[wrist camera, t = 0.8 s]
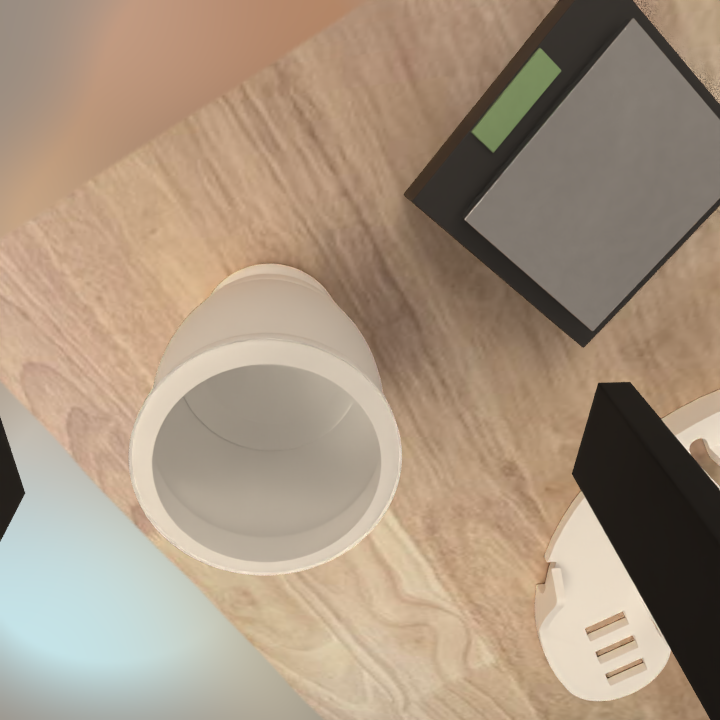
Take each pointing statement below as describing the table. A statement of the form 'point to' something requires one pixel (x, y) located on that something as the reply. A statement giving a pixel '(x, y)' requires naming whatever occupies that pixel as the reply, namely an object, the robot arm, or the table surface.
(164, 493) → the jar
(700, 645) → the robot arm
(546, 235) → the scale platform
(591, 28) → the scale
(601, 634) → the cable organizer
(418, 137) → the table surface
